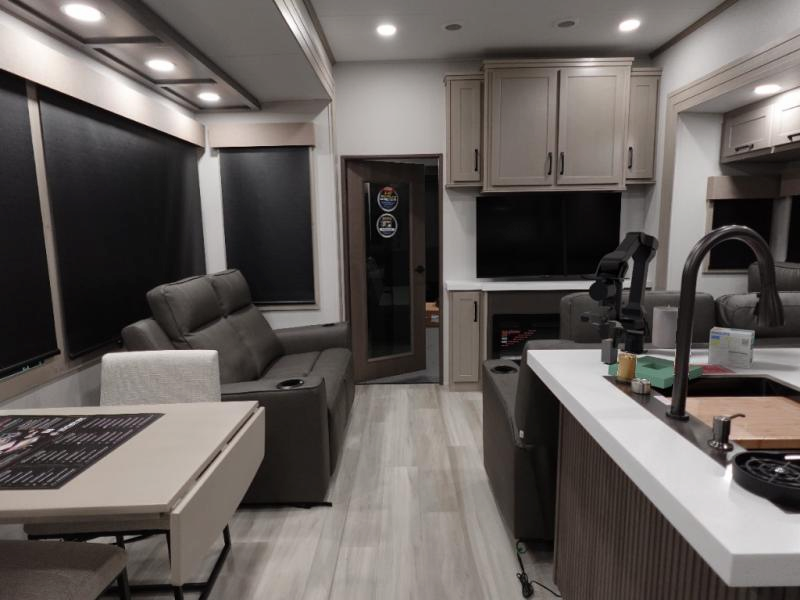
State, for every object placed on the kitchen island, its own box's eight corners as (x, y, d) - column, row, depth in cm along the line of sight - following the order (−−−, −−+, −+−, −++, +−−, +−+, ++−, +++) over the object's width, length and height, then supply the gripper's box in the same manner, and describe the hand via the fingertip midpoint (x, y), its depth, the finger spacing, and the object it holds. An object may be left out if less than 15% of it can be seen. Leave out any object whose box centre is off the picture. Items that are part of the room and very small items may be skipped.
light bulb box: (752, 365, 144) (755, 330, 143) (749, 369, 139) (752, 333, 138) (711, 359, 151) (714, 326, 150) (707, 363, 147) (709, 329, 145)
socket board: (647, 363, 148) (647, 355, 147) (702, 375, 134) (702, 366, 134) (608, 374, 137) (608, 365, 137) (663, 388, 124) (664, 379, 123)
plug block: (608, 359, 151) (609, 337, 150) (617, 361, 148) (618, 339, 148) (601, 361, 149) (601, 339, 148) (609, 363, 146) (610, 341, 145)
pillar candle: (664, 341, 177) (665, 301, 175) (689, 347, 168) (691, 305, 166) (645, 344, 173) (647, 304, 171) (670, 350, 164) (672, 307, 162)
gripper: (569, 297, 150) (568, 345, 152) (624, 303, 134) (622, 357, 136) (591, 294, 155) (589, 340, 158) (647, 300, 140) (644, 351, 142)
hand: (609, 347), depth 148 cm, fingers closed on plug block, 3 cm apart
